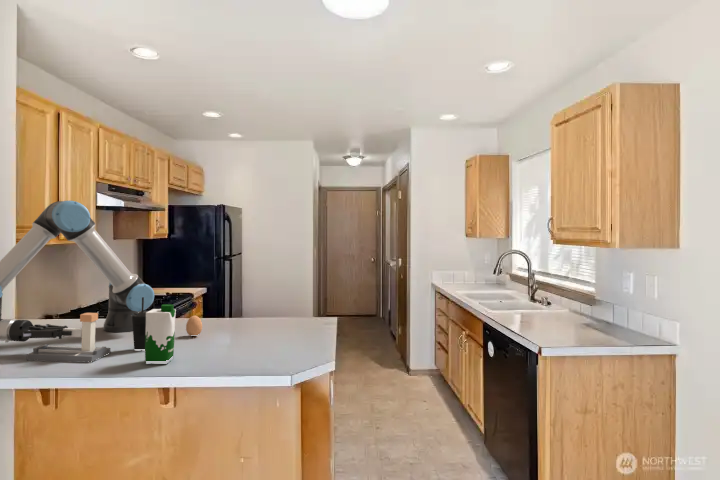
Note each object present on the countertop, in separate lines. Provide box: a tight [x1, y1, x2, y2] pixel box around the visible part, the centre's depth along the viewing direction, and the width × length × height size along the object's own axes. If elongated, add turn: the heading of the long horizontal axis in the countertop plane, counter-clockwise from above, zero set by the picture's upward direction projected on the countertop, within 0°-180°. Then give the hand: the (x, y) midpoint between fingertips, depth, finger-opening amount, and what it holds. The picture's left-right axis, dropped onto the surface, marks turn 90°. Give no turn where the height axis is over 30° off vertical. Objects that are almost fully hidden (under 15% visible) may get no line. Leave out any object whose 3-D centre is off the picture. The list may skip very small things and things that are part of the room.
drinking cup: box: [131, 297, 149, 350], centre depth 178 cm, size 8×8×20 cm
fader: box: [79, 312, 99, 351], centre depth 165 cm, size 4×4×13 cm
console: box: [26, 343, 111, 363], centre depth 166 cm, size 22×12×3 cm, turn 90°
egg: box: [185, 315, 203, 336], centre depth 202 cm, size 7×7×9 cm
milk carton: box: [144, 303, 177, 362], centre depth 163 cm, size 9×9×20 cm
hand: (82, 333), depth 165 cm, fingers closed
